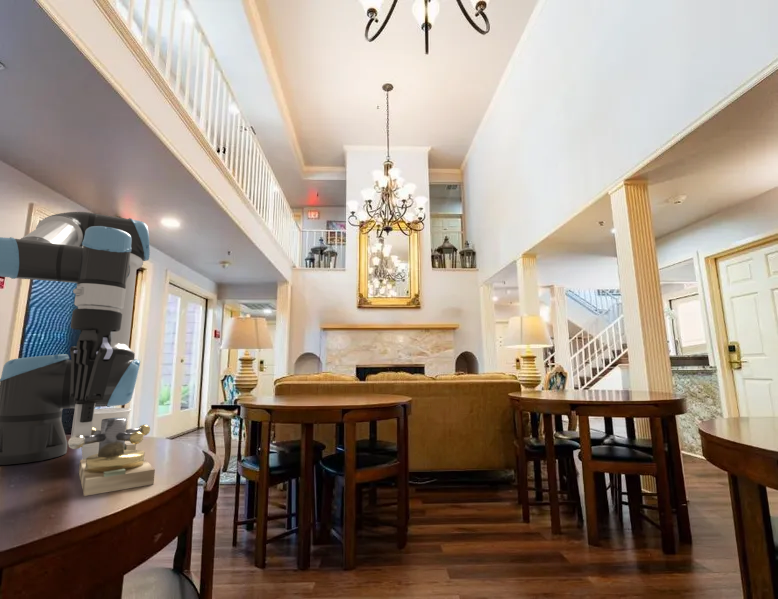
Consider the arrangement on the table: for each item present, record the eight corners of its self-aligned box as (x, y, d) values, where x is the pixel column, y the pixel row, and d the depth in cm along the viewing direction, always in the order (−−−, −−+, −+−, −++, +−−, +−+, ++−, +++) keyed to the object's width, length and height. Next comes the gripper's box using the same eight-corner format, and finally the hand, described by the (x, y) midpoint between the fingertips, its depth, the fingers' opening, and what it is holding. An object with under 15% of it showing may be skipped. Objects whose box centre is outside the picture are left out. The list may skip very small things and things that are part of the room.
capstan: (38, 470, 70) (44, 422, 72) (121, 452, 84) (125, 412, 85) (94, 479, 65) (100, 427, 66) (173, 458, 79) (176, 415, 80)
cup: (98, 469, 82) (104, 413, 84) (59, 466, 84) (65, 412, 86) (137, 457, 92) (141, 408, 93) (101, 455, 94) (106, 407, 95)
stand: (78, 472, 79) (81, 447, 80) (137, 464, 86) (139, 440, 86) (84, 496, 66) (87, 464, 66) (153, 484, 72) (155, 455, 73)
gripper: (60, 308, 75) (39, 439, 71) (91, 305, 68) (71, 449, 65) (104, 312, 81) (88, 433, 78) (137, 310, 75) (121, 442, 71)
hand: (80, 440), depth 71 cm, fingers closed
